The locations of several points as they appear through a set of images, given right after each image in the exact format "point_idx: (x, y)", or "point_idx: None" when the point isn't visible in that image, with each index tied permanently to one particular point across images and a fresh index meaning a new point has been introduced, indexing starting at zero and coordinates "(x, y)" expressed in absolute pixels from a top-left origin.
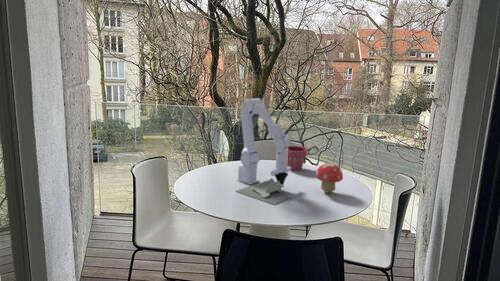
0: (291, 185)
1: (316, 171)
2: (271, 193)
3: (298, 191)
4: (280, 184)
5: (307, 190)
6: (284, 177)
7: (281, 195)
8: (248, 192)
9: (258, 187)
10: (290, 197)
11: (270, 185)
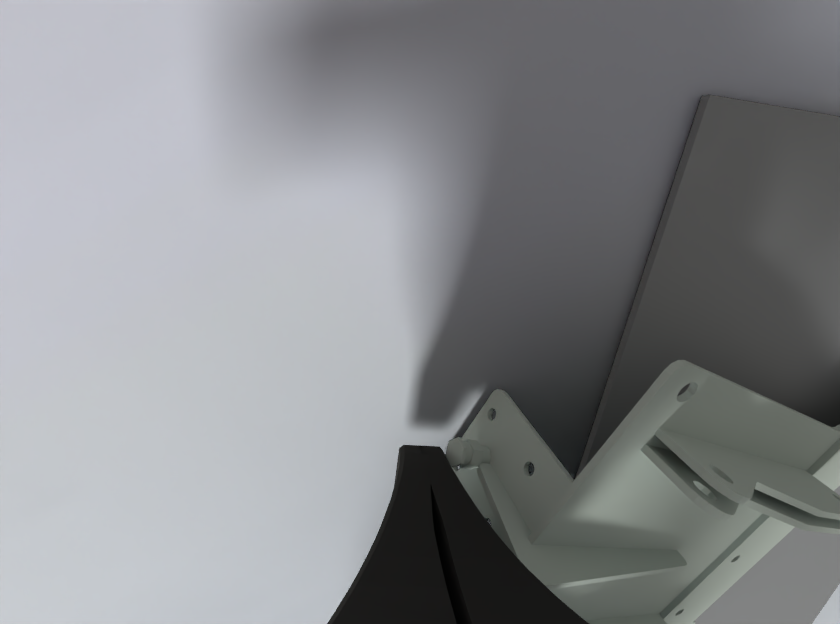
0: (93, 420)
1: None
2: None
3: (267, 166)
4: (696, 457)
5: (40, 27)
6: (449, 609)
7: (688, 285)
8: (762, 605)
9: (660, 622)
10: (717, 106)
11: (657, 563)
